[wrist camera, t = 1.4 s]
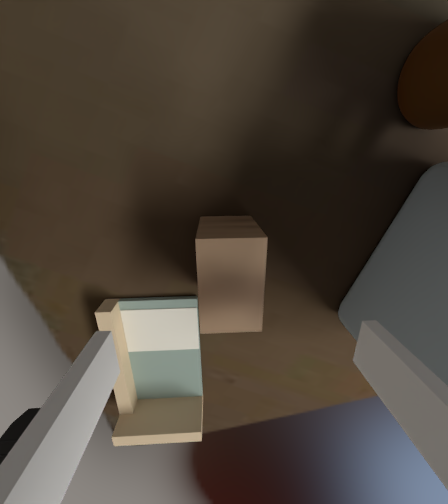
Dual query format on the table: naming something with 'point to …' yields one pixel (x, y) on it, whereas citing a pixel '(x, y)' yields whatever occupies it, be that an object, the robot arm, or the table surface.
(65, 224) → the table surface
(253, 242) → the block
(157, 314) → the toy stand
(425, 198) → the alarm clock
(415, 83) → the mug
